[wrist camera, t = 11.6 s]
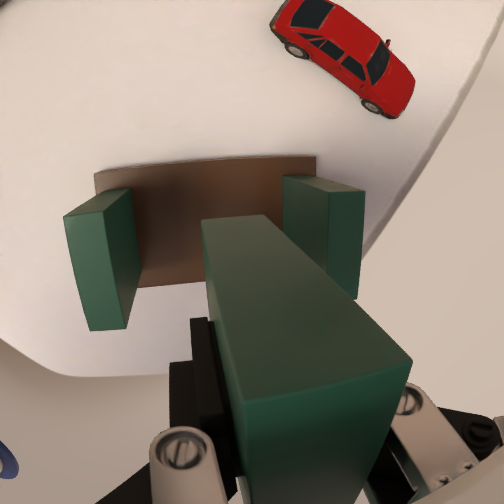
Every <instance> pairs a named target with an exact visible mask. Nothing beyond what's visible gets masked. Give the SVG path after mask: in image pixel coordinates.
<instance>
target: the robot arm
mask: <svg viewBox="0 0 504 504" xmlns="http://www.w3.org/2000/svg"><path fill="white" fill-rule="evenodd" d="M190 331H191V345H192V358H193V360H191V361H181V362H170V366H169V411H170V413H169V415H170V428H169V429H167V430H164V431H162V432H160V433H159V434H158V435H157V436H156V437H155V438H154V439H153V441H152V443H151V444H150V450H149V461H150V462H149V463H148V464H146V465H145V466H144V467H143V468H141V469H140V470H139V471H138V472H136V473H135V474H134V475H133V476H131V477H130V478H129V479H128V480H126V481H125V482H123V483H122V484H121V485H120V486H118V487H117V488H116V489H114V490H113V491H112V492H110V493H109V494H108V495H106V496H105V497H104V498H102V499H101V500H99V501H98V502H97V503H95V504H228V501H229V500H230V499H231V498H232V497H233V496H234V495H235V493H236V492H237V491H238V490H237V484H236V478H235V477H240V471H239V463H238V456H237V448H236V441H235V433H234V424H233V417H232V411H231V405H230V400H229V396H228V391H227V386H226V382H225V377H224V372H223V367H222V362H221V357H220V352H219V347H218V342H217V337H216V332H215V326H214V321H208V318H207V317H200V318H191V319H190ZM2 468H3V463H2V461H1V459H0V473H1V471H2ZM363 490H364V492H365V495H366V497H367V499H368V501H369V503H370V504H504V416H500V417H494V419H493V420H491V419H489V418H488V417H485V416H482V415H477V414H472V413H466V412H460V411H455V410H450V409H445V408H440V407H436V405H435V404H434V403H433V402H432V401H431V399H430V398H429V397H428V396H427V394H426V393H425V392H424V391H423V390H422V389H421V388H420V387H418V386H416V385H414V384H412V383H408V382H407V383H406V386H405V389H404V392H403V394H402V397H401V400H400V403H399V406H398V408H397V411H396V414H395V416H394V419H393V421H392V424H391V426H390V429H389V431H388V434H387V436H386V439H385V441H384V443H383V446H382V448H381V450H380V452H379V455H378V457H377V459H376V461H375V463H374V465H373V468H372V470H371V472H370V474H369V476H368V478H367V480H366V482H365V484H364V486H363Z"/></svg>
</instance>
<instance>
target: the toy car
mask: <svg viewBox="0 0 504 504" xmlns="http://www.w3.org/2000/svg"><path fill="white" fill-rule="evenodd" d="M270 29H271V31H272V32H273V33H274V34H275V35H276V36H277V37H278V38H279V39H280V41H281V42H282V43H286V44H285V48H286V50H287V52H289V53H290V54H292V55H293V56H295V57H298V58H302V59H305V58H307V56H308V55H309V56H310V58H309V59H310V60H312V61H313V62H315V63H316V64H318V65H319V66H321V67H322V68H323V69H325V70H326V71H328V72H329V73H330V74H332V75H333V76H334V77H336V78H337V79H339V80H340V81H341V82H343V83H344V84H345V85H346V86H348V87H349V88H350V89H352V90H353V91H354V92H356V93H357V94H358V95H359V96H360V98H363V100H362V101H361V103H362V105H363V106H364V107H365V108H366V109H367V110H369V111H370V112H373V113H376V114H381V113H382V114H381V115H383V116H384V117H386V118H388V119H396V118H398V117H399V116H400V114H401V113H402V112H403V111H404V110H405V108H406V106H407V104H408V102H409V100H410V98H411V96H412V94H413V91H414V87H415V79H414V77H413V75H412V74H411V72H410V71H409V70H408V68H407V67H406V66H405V64H403V63H402V62H401V61H400V60H399V59H398V58H397V57H396V56H395V55H394V54H393V53H392V52H391V51H390V50H389V49H388V46H389V45H390V41H391V40H390V39H388V40H386V43H384V42H383V40H382V39H381V38H380V36H379V35H377V34H376V33H375V32H374V31H373V30H371V29H370V28H369V27H368V26H366V25H365V24H364V23H363V22H361V21H360V20H359V19H357V18H356V17H355V16H354V15H352V14H351V13H350V12H348V11H347V10H345V9H344V8H343V7H341V6H339V5H337V4H335V3H333V2H331V1H329V0H286V1H285V2H284V3H283V4H282V5H281V7H280V8H279V10H278V11H277V13H276V14H275V16H274V17H273V19H272V20H271V22H270ZM296 49H297V50H296ZM299 51H300V52H299ZM370 104H371V105H370ZM373 106H374V107H373ZM382 111H383V112H382Z"/></svg>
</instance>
